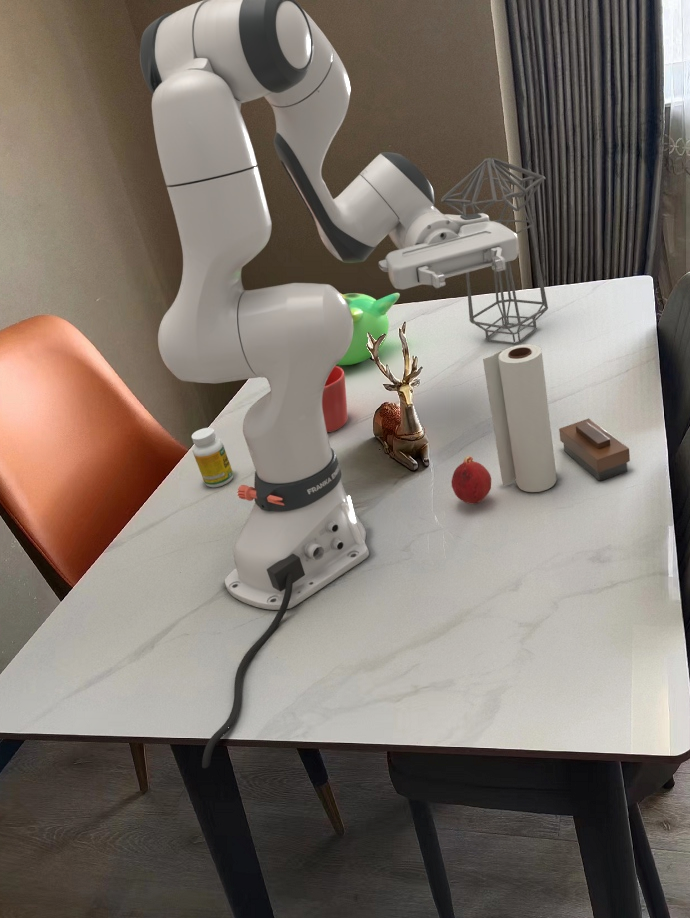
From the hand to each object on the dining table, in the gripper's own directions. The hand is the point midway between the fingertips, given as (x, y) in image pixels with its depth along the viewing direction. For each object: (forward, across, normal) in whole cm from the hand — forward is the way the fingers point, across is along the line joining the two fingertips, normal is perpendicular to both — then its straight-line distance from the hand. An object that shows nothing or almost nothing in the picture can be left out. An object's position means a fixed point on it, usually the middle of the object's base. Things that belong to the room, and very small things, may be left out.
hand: (471, 274), depth 125 cm
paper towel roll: (+15, +2, +28) cm, 32 cm away
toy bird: (-53, -7, +36) cm, 64 cm away
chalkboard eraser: (+15, +12, +28) cm, 34 cm away
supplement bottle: (-19, -43, +34) cm, 58 cm away
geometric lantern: (-40, +24, +33) cm, 57 cm away
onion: (+15, -8, +29) cm, 34 cm away
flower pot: (-27, -21, +34) cm, 48 cm away
